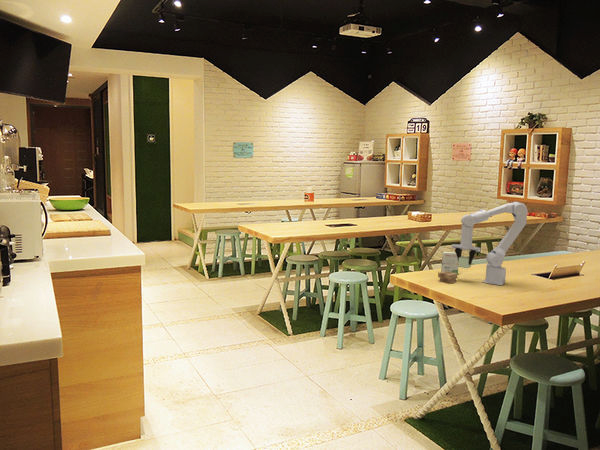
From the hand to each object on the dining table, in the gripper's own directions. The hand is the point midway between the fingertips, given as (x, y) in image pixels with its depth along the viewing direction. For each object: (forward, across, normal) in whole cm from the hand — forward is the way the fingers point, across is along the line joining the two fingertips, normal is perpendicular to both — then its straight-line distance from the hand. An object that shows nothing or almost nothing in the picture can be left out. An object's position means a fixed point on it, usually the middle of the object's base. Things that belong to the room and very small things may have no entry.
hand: (464, 263), depth 267 cm
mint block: (+2, 0, 0) cm, 2 cm away
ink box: (+10, -12, +12) cm, 19 cm away
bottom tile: (+10, -6, -7) cm, 14 cm away
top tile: (+8, -6, -7) cm, 12 cm away
